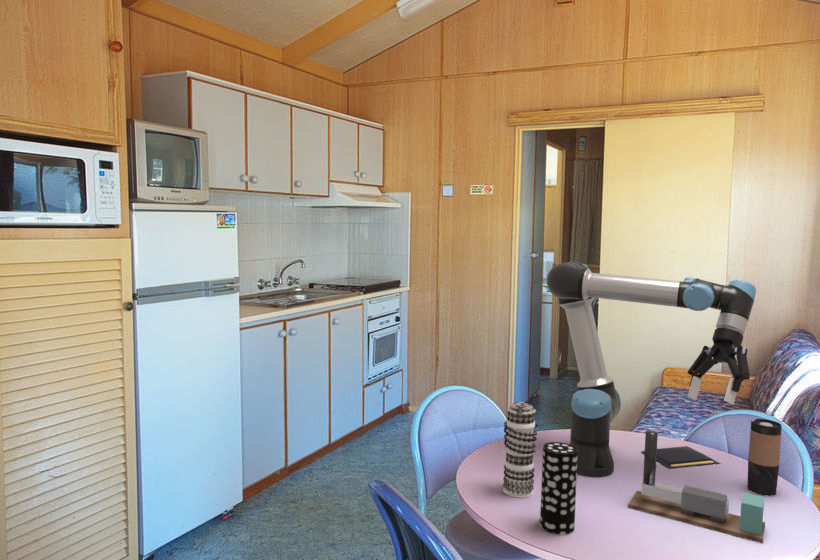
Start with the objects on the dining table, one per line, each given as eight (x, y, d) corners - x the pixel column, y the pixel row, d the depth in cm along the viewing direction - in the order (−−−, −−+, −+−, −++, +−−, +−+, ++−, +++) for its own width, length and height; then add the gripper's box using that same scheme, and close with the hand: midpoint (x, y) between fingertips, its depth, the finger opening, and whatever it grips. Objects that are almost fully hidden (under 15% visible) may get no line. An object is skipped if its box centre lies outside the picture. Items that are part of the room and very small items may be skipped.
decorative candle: (504, 482, 173) (507, 398, 170) (536, 487, 169) (540, 401, 167) (498, 494, 164) (501, 406, 162) (532, 500, 161) (535, 410, 159)
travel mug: (781, 497, 166) (786, 428, 164) (751, 494, 167) (756, 425, 165) (770, 486, 173) (775, 419, 171) (742, 483, 175) (746, 417, 173)
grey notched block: (680, 513, 153) (681, 491, 152) (683, 506, 157) (685, 484, 157) (723, 524, 147) (725, 502, 147) (726, 516, 152) (727, 494, 151)
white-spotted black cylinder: (535, 518, 151) (538, 442, 149) (567, 517, 152) (570, 441, 150) (545, 535, 143) (549, 454, 141) (579, 534, 143) (583, 454, 142)
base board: (627, 507, 158) (628, 503, 158) (636, 494, 166) (636, 490, 166) (762, 543, 141) (762, 539, 141) (764, 526, 149) (765, 522, 149)
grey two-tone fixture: (641, 494, 159) (644, 432, 158) (643, 490, 162) (647, 429, 160) (727, 515, 148) (731, 449, 146) (728, 511, 150) (732, 446, 149)
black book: (689, 443, 204) (722, 460, 189) (689, 449, 204) (722, 466, 189) (638, 447, 199) (667, 465, 184) (638, 453, 199) (667, 471, 185)
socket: (739, 530, 145) (741, 502, 144) (742, 519, 150) (743, 492, 150) (760, 535, 142) (762, 507, 142) (762, 524, 148) (764, 497, 147)
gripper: (777, 336, 160) (756, 409, 155) (706, 338, 184) (687, 402, 179) (756, 324, 159) (735, 398, 154) (687, 328, 182) (667, 392, 177)
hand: (709, 400), depth 166 cm, fingers open, 13 cm apart
